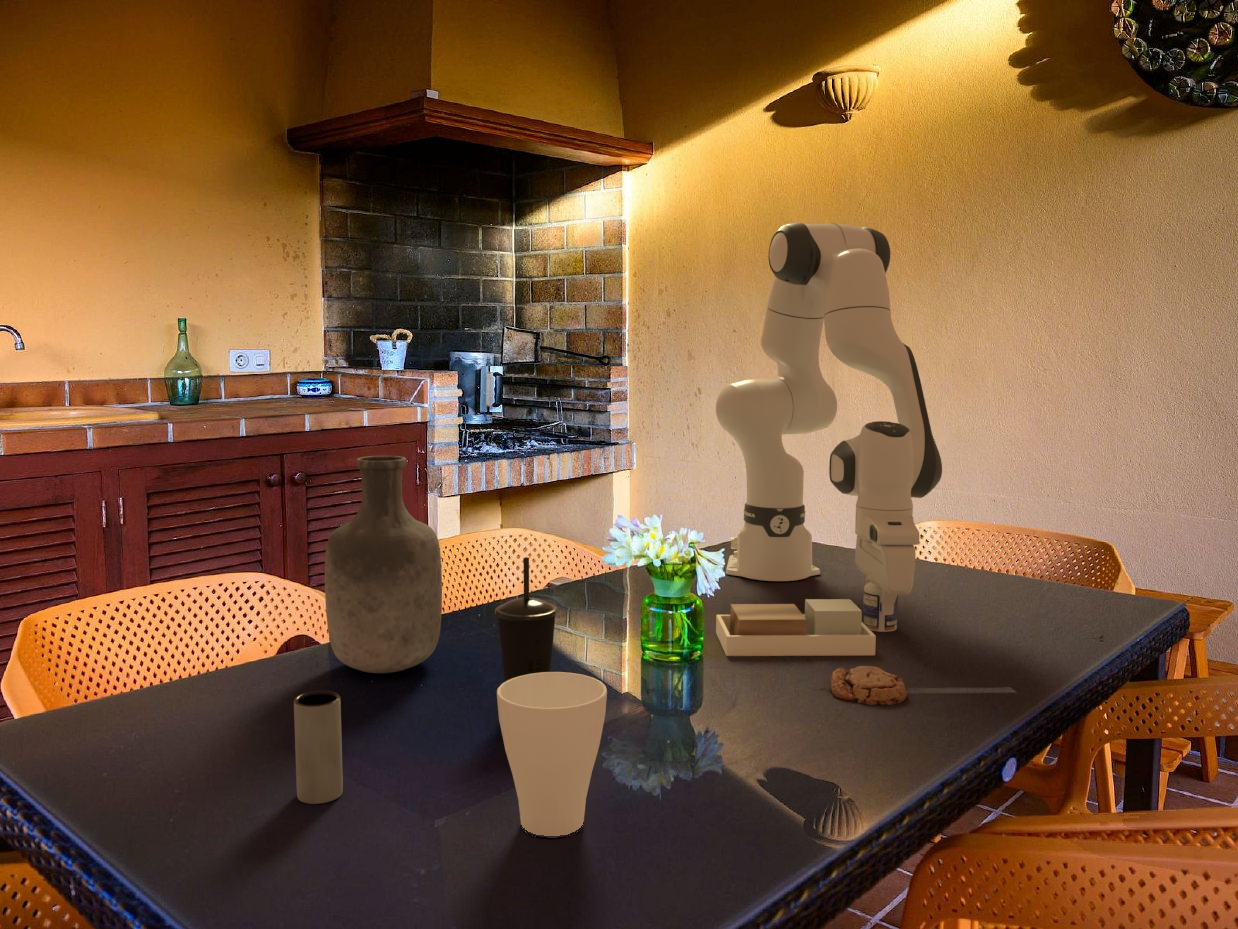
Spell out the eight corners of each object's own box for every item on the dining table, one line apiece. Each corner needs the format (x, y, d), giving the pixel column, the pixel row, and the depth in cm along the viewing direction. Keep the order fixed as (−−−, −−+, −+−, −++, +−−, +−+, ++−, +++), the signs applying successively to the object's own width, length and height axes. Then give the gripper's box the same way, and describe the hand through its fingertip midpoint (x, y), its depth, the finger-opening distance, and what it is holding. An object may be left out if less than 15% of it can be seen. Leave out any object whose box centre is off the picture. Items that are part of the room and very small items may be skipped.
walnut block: (729, 635, 161) (730, 604, 161) (793, 635, 162) (794, 603, 161) (738, 652, 152) (739, 619, 152) (805, 652, 153) (806, 619, 152)
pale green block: (804, 636, 161) (805, 599, 160) (848, 636, 161) (849, 599, 160) (814, 650, 154) (815, 611, 153) (860, 650, 154) (861, 611, 153)
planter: (302, 785, 108) (299, 690, 106) (346, 784, 108) (344, 690, 107) (292, 805, 103) (288, 706, 102) (338, 804, 104) (335, 705, 102)
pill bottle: (893, 626, 169) (896, 568, 168) (899, 635, 164) (901, 575, 163) (860, 625, 170) (862, 567, 169) (864, 634, 164) (866, 574, 163)
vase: (429, 646, 157) (426, 450, 153) (454, 678, 142) (452, 462, 138) (321, 658, 151) (314, 454, 147) (335, 693, 136) (329, 467, 132)
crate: (715, 636, 163) (716, 614, 162) (853, 635, 164) (854, 614, 163) (726, 659, 151) (726, 636, 151) (874, 659, 152) (875, 636, 151)
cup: (609, 801, 105) (609, 672, 103) (603, 852, 94) (604, 710, 93) (506, 799, 105) (505, 670, 103) (489, 849, 95) (488, 708, 93)
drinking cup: (484, 714, 129) (482, 556, 126) (534, 700, 134) (533, 549, 131) (519, 732, 123) (518, 567, 120) (570, 717, 128) (570, 559, 125)
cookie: (890, 713, 131) (891, 690, 130) (814, 695, 137) (814, 673, 137) (919, 692, 138) (920, 671, 138) (846, 676, 145) (847, 655, 144)
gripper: (847, 513, 175) (844, 592, 177) (882, 536, 155) (878, 625, 156) (884, 513, 175) (881, 592, 177) (923, 536, 155) (919, 625, 157)
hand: (880, 608), depth 166 cm, fingers closed on pill bottle, 5 cm apart
